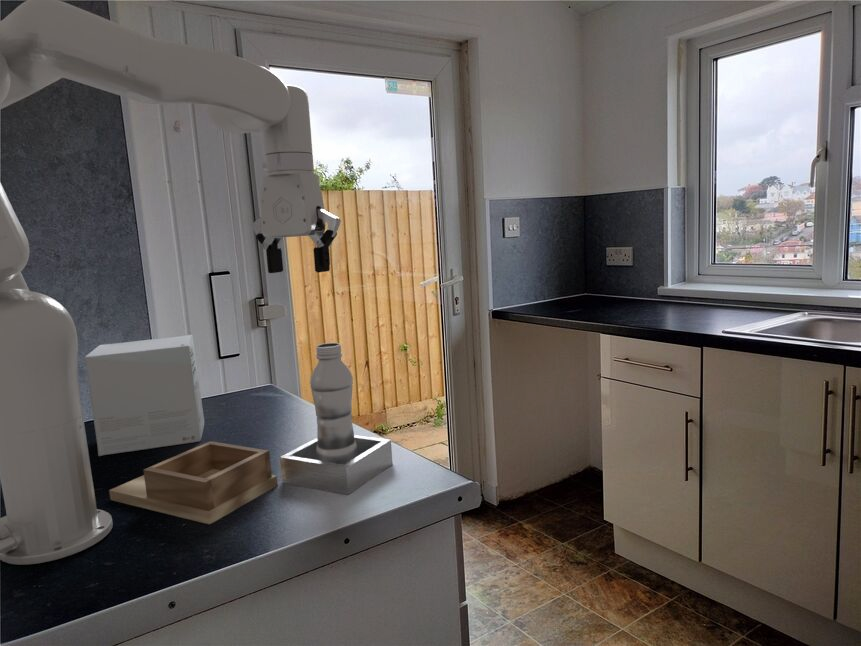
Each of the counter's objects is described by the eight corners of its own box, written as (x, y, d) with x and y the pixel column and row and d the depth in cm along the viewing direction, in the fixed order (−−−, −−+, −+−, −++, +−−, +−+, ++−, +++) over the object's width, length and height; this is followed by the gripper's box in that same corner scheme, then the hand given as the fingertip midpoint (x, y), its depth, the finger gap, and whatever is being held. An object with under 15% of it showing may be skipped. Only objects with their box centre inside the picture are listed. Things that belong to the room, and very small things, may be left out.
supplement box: (205, 421, 126) (194, 333, 123) (202, 442, 113) (190, 345, 111) (111, 434, 121) (98, 343, 118) (96, 457, 108) (82, 356, 106)
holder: (348, 495, 87) (346, 468, 87) (282, 482, 93) (279, 457, 92) (392, 464, 98) (390, 439, 97) (330, 454, 104) (328, 431, 103)
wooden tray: (209, 524, 81) (204, 484, 80) (110, 499, 90) (105, 463, 89) (277, 485, 92) (274, 449, 91) (183, 467, 102) (179, 434, 101)
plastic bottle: (309, 480, 93) (297, 349, 90) (329, 463, 100) (319, 340, 96) (348, 483, 91) (338, 350, 88) (366, 466, 98) (357, 340, 95)
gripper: (233, 170, 102) (243, 274, 104) (320, 160, 94) (328, 273, 97) (264, 172, 108) (272, 270, 111) (347, 163, 101) (354, 269, 103)
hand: (298, 272), depth 104 cm, fingers open, 9 cm apart
